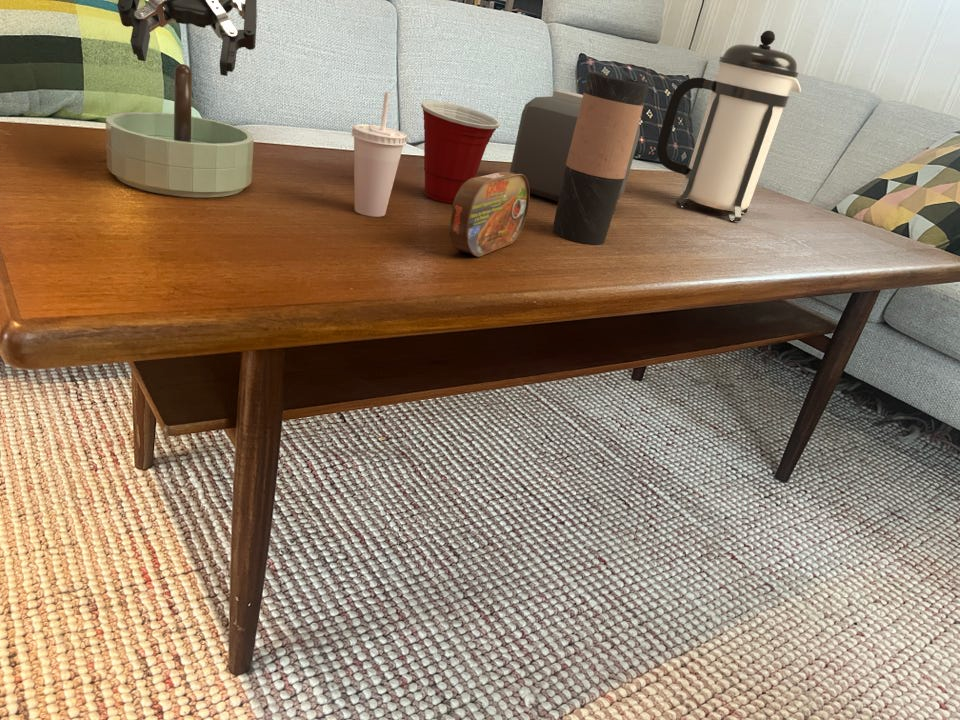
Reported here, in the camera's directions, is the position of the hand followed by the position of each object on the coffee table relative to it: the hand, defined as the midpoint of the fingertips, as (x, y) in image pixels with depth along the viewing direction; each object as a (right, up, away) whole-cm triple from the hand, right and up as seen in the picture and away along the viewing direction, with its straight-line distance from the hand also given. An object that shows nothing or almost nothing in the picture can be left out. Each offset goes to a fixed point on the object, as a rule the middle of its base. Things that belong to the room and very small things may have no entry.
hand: (182, 63), depth 80 cm
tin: (+33, -20, +5) cm, 39 cm away
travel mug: (+46, -16, +17) cm, 51 cm away
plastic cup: (+28, -10, +22) cm, 37 cm away
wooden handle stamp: (-2, -11, +5) cm, 12 cm away
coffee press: (+73, -5, +51) cm, 89 cm away
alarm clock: (+45, -7, +36) cm, 59 cm away
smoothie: (+19, -15, +9) cm, 26 cm away
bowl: (-2, -11, +6) cm, 13 cm away
